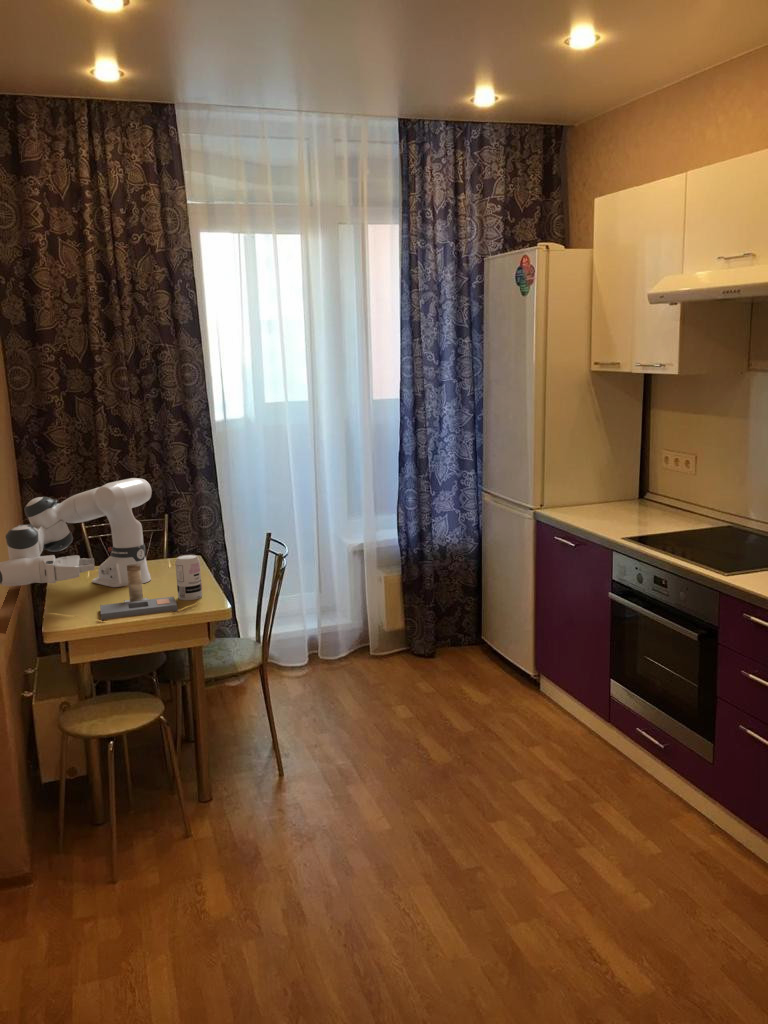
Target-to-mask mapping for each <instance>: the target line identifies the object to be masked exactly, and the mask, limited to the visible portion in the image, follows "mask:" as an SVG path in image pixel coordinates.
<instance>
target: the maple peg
mask: <svg viewBox="0 0 768 1024" xmlns="http://www.w3.org/2000/svg"><path fill="white" fill-rule="evenodd" d="M127 574H128V585H127V586H128V595H129V600H130V602H132V601H140V600H143V598H144V594H143V593H144V591H143V583H142V580H141V567H140V564H129V565H127Z"/></svg>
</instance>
